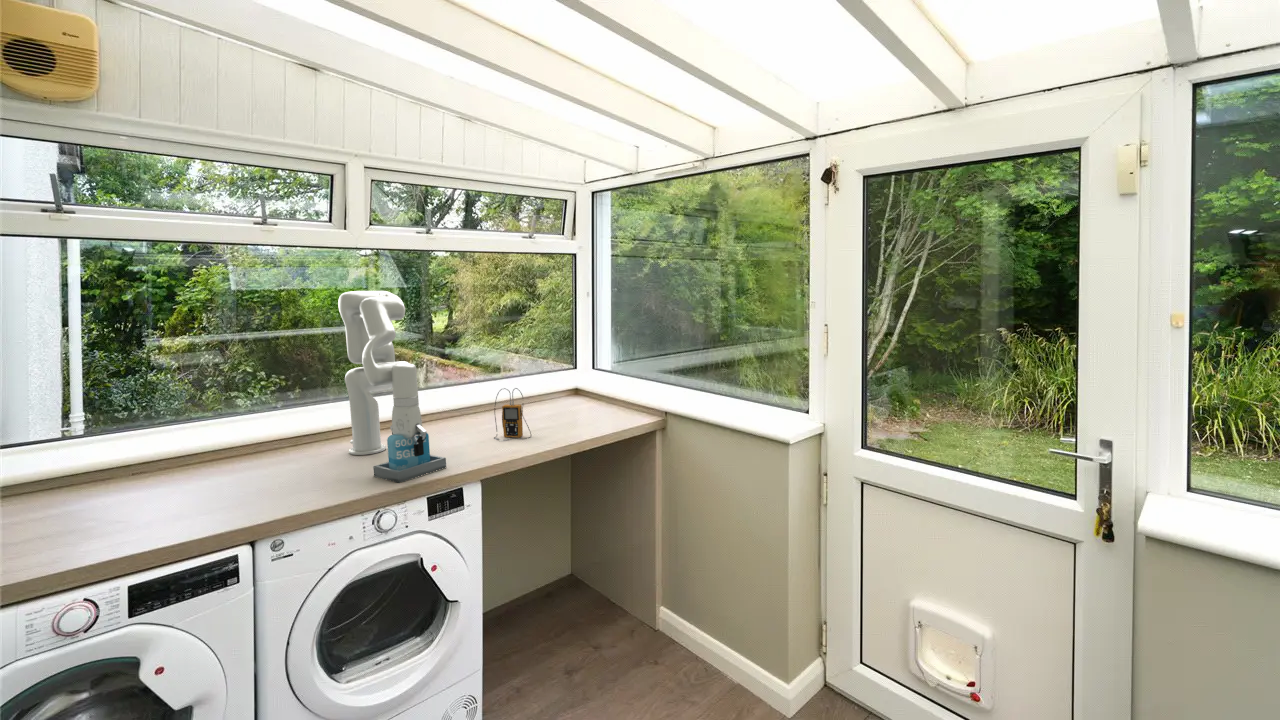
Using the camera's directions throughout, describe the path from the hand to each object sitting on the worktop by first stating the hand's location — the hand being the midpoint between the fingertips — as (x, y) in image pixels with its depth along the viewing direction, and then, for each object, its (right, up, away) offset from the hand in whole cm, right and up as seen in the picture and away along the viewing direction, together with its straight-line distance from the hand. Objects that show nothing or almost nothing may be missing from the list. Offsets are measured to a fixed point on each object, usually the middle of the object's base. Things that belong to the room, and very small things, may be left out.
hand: (409, 453), depth 194 cm
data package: (0, -5, +1) cm, 6 cm away
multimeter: (+24, -1, +42) cm, 49 cm away
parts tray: (0, -6, +1) cm, 6 cm away
